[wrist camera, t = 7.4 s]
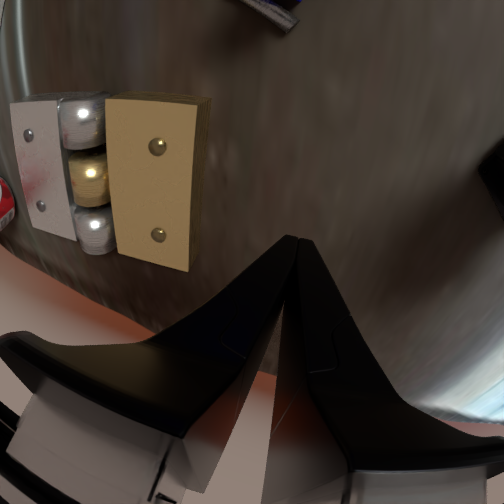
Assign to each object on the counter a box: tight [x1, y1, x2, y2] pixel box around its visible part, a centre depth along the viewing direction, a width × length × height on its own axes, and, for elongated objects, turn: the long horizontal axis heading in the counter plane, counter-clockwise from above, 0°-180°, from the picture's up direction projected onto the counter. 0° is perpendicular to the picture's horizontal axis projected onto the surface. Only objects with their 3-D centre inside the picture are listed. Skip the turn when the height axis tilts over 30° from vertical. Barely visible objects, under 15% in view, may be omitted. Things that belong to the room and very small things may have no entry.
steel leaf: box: [10, 92, 117, 255], centre depth 22 cm, size 13×11×4 cm
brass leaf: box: [68, 91, 212, 272], centre depth 21 cm, size 13×11×4 cm
